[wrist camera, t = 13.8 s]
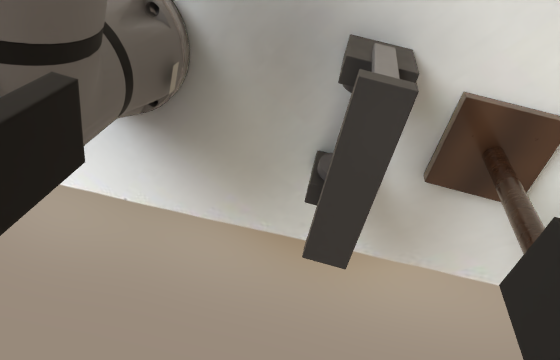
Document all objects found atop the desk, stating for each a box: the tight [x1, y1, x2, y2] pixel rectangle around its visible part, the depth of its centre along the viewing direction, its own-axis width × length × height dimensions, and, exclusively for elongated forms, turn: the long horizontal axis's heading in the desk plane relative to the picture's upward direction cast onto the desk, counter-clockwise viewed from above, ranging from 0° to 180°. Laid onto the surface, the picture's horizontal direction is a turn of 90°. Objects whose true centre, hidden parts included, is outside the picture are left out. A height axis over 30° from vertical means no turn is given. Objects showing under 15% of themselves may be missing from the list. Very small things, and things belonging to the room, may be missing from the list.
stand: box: [424, 92, 560, 254], centre depth 33 cm, size 10×10×22 cm
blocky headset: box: [302, 35, 419, 269], centre depth 37 cm, size 6×17×14 cm, turn 169°
